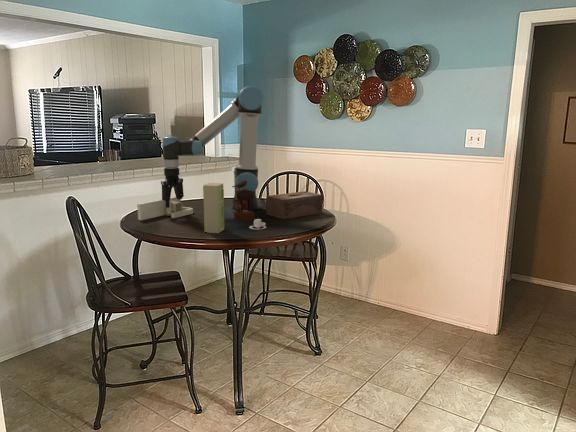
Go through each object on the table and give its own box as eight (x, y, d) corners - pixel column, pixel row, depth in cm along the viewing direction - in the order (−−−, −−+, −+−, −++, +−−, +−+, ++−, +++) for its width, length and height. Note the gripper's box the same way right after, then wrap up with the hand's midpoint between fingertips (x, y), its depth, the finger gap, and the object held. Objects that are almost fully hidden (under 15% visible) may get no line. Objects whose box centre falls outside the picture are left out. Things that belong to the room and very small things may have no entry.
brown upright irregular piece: (245, 222, 225) (241, 181, 222) (227, 221, 231) (224, 182, 228) (263, 217, 238) (260, 178, 235) (246, 216, 244) (243, 178, 240)
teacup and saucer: (262, 225, 222) (262, 216, 221) (271, 228, 216) (271, 219, 215) (246, 227, 217) (245, 218, 217) (254, 231, 211) (254, 222, 210)
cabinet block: (182, 215, 243) (181, 202, 242) (175, 217, 239) (174, 203, 238) (172, 213, 247) (172, 200, 246) (165, 215, 243) (164, 202, 242)
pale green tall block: (220, 233, 205) (218, 185, 200) (204, 232, 206) (202, 185, 202) (226, 229, 212) (224, 183, 208) (210, 228, 214) (209, 182, 209)
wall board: (194, 213, 248) (194, 198, 246) (155, 222, 225) (154, 206, 223) (178, 210, 254) (177, 196, 253) (138, 220, 231) (137, 204, 229)
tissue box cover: (282, 219, 234) (282, 199, 232) (266, 214, 245) (266, 195, 243) (322, 213, 249) (322, 194, 247) (304, 209, 260) (305, 191, 258)
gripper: (179, 165, 248) (181, 208, 253) (152, 168, 232) (155, 214, 237) (189, 166, 244) (191, 210, 249) (163, 169, 228) (165, 216, 233)
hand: (173, 212), depth 243 cm, fingers open, 6 cm apart
